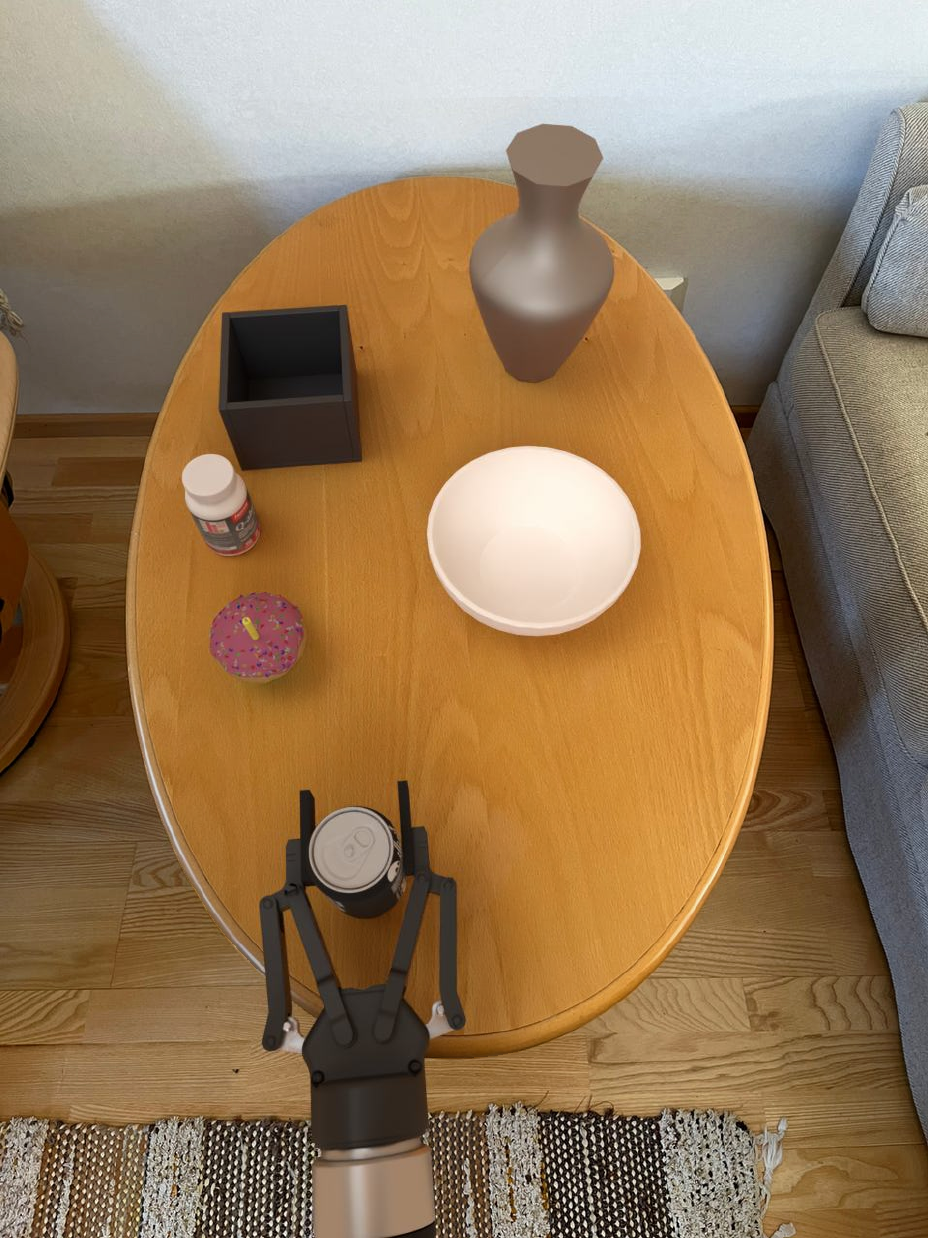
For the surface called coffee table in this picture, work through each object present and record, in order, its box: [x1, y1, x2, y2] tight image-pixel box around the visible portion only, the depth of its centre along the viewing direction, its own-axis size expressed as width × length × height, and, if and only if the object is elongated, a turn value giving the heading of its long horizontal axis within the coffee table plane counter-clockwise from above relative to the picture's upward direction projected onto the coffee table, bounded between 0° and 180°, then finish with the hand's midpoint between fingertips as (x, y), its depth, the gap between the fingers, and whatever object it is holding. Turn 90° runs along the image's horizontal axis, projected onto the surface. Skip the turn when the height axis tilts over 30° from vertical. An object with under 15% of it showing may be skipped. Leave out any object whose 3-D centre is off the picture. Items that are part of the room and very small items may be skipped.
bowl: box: [426, 445, 642, 637], centre depth 80 cm, size 20×20×7 cm
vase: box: [468, 123, 615, 383], centre depth 84 cm, size 14×14×25 cm
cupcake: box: [208, 591, 308, 684], centre depth 73 cm, size 9×8×12 cm
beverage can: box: [306, 805, 409, 920], centre depth 62 cm, size 7×7×12 cm
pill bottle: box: [181, 453, 261, 557], centre depth 80 cm, size 6×6×10 cm
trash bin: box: [218, 304, 363, 471], centre depth 87 cm, size 13×13×10 cm
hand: (355, 790), depth 64 cm, fingers closed on beverage can, 7 cm apart
